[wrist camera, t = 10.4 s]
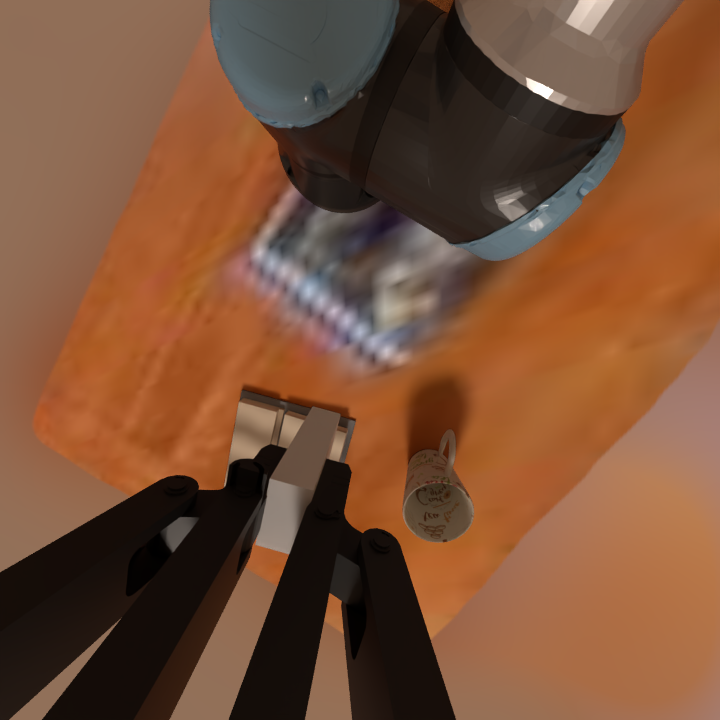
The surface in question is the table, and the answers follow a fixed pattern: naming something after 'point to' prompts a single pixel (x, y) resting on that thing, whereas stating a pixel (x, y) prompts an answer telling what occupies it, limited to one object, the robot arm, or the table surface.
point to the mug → (436, 495)
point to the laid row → (267, 425)
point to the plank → (293, 425)
